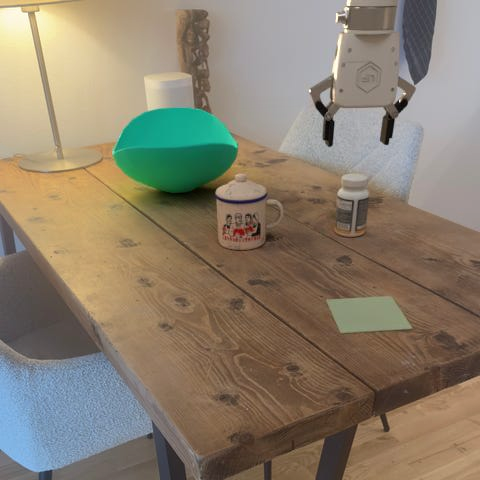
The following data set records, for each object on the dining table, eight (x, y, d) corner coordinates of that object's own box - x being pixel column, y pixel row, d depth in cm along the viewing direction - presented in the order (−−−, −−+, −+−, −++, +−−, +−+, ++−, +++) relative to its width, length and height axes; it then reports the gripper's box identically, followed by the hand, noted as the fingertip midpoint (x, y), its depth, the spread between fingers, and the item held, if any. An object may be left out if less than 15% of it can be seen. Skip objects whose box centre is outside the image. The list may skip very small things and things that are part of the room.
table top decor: (248, 213, 115) (248, 142, 107) (112, 221, 113) (100, 149, 105) (231, 162, 146) (229, 104, 138) (123, 168, 144) (115, 109, 136)
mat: (391, 296, 85) (391, 295, 85) (412, 329, 77) (412, 328, 77) (325, 300, 84) (325, 299, 84) (340, 333, 76) (340, 332, 76)
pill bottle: (359, 226, 108) (365, 171, 102) (369, 236, 104) (376, 180, 98) (330, 228, 108) (334, 173, 101) (339, 239, 103) (344, 182, 97)
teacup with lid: (217, 252, 100) (213, 183, 92) (217, 233, 107) (214, 168, 99) (284, 250, 100) (287, 181, 92) (280, 231, 107) (281, 166, 99)
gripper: (318, 24, 82) (310, 151, 93) (434, 21, 83) (412, 148, 94) (309, 20, 88) (302, 140, 99) (417, 18, 89) (399, 137, 100)
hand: (356, 144), depth 96 cm, fingers open, 9 cm apart
